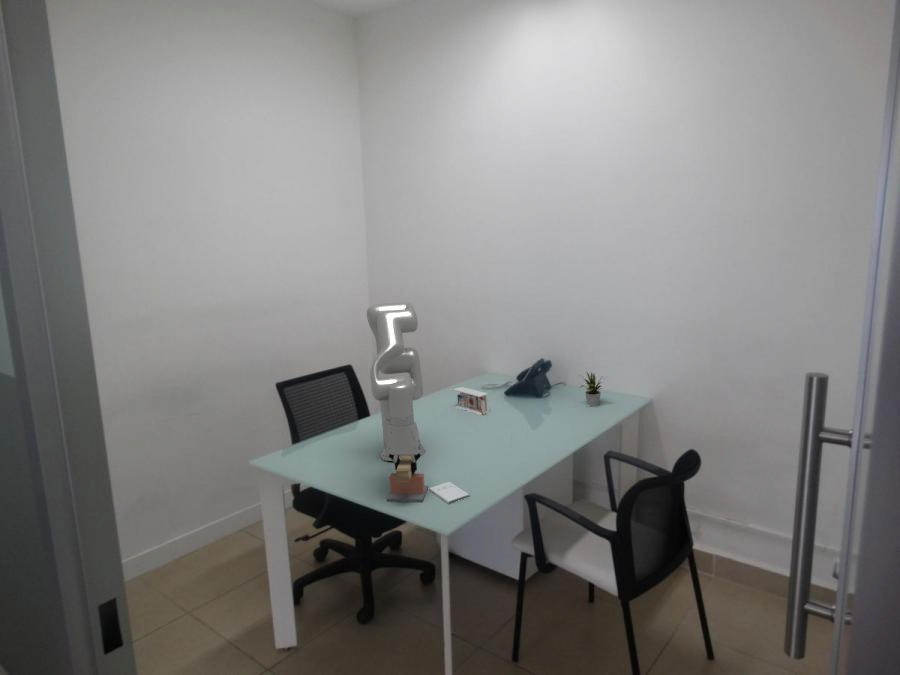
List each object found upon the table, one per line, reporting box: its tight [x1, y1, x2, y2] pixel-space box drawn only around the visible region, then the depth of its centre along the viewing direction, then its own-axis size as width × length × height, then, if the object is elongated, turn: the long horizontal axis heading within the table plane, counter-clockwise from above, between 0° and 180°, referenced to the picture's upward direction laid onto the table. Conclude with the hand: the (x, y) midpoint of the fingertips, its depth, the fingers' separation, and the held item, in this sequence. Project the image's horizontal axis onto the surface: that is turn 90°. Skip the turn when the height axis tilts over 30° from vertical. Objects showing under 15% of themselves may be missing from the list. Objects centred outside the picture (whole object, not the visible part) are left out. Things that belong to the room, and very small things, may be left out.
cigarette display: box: [453, 386, 490, 416], centre depth 272 cm, size 20×6×9 cm, turn 41°
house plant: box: [579, 371, 608, 407], centre depth 270 cm, size 14×14×16 cm
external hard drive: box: [428, 481, 471, 505], centre depth 188 cm, size 2×8×12 cm
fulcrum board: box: [386, 472, 430, 503], centre depth 189 cm, size 10×12×7 cm
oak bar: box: [395, 455, 412, 483], centre depth 188 cm, size 14×4×4 cm, turn 175°
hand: (406, 471), depth 188 cm, fingers closed on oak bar, 4 cm apart
